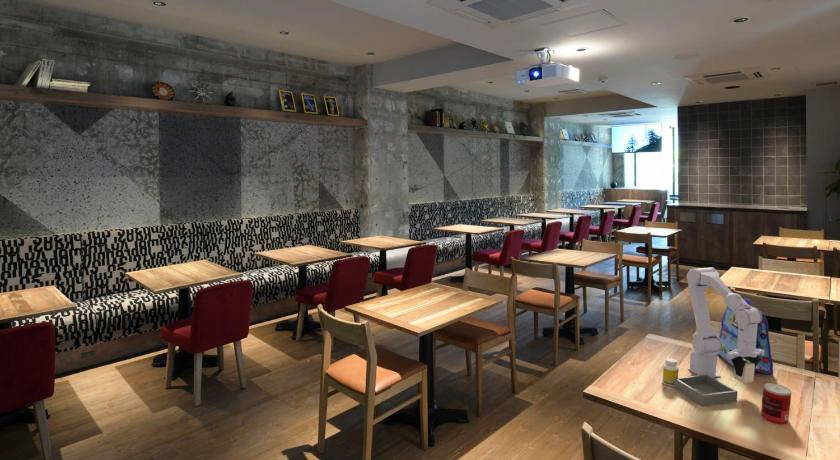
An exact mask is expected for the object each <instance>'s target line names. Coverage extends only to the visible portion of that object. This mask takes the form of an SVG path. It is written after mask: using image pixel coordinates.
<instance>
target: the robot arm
mask: <svg viewBox="0 0 840 460" xmlns="http://www.w3.org/2000/svg"><path fill="white" fill-rule="evenodd" d="M686 280H687V285H688V290H689V295H690V296H689V297H690V301H691V304H692V312H693V313H694V314H693V315H694V320H695V325H696V331H695V332H694V333H693V334H692V349H693V350H692V351H691V353H690V355H689V356H690V359H689V367H688V368H687V370H688V371H691V372H692V373H694V374H696V376H697V375H705V374H707V375H709V376H711V377H712V378H714V379H715V378H720V377H722V375H721V374H719V373H717V361H718V355H719V352H720V351H721V350H722V348H723V344H722V341H721V339H720V338H719V337H720V333H718V332H717V331H716V330H714V329H713V326H712V322H711V317H710V311H709V306H708V302H707V298H706V293H705V291H706V289H707V288H708V287H711V288H712V289H713V290H714V291H716V292H717V293H718V294H719V295H720V296H721V297H722V298H724V300H723V301H724V304H725V305H726V307H727V306H728V307H729V308H730V309H731V310H732V311H733V312H734V313H735V314H736V315H735V317H736V320H737V326H738V341H737V349H736V350H733V351H731V352H727V357H728V358H730V359H731V360H732V362H733V365H734V367H733V369H734V370H735V373H736V375H738V376H740V377H741V376H742V374H743V368H744V365H745V363H746V362H747V361H745V360H749V361H750V362H752V363H754V364H755V367H756V366H757V364H758V363H759V362H760V361H761V358H760V357H758V355H761V356H763V355H764V350H762V349H755V348H756V337H757V326H758V324H757V323H760V322H761V321H762V314H761V312H762V311H761V310H759V308H757V307H753V306H752V305H751V304H750V305H751V306H750V305H749V304H747V303H746V302H745V301H744V300H743V299H744V298H742V296H741V294H739V293H735V292H732V291H731V288H729V287H728V286H727V285H726V283H725V282H724V281H723V280H722V279H721V278H720V273H719V272H718V271H717V269H715V267H711V266H709V267H703V268H701V267H699V268H690V269H689V270H688V272H687V273H686ZM742 357H745V360H743V358H742ZM754 369H755V368H754Z"/></svg>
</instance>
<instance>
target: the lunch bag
mask: <svg viewBox="0 0 840 460" xmlns="http://www.w3.org/2000/svg"><path fill="white" fill-rule="evenodd" d="M742 299H743V300H744V301H745V302H746V303H747V304H749V305H750V306H752V305H751V299H748V298H742ZM760 312H761V314H762V321H761V322H760V323H757V324H758V326H757V337H756V348H755V349H762V350H764V355H763V356H761V355H758V357H760V358H761V361H760V362H759V363H758V364H757V366H756V367H755V369H754V373H755V372H759V373H762V374H766V375H770V376H772V375H774V369H773V368H774V363H773V362H774V361H773V357H772V352H771V342H770V337H769V323H768V320H767V318H766V316H765V315H766V314H764V313H763V312H762V311H760ZM735 315H736V314H735V313H734V312H733V311H732V310H731V309H730V308H729V307H728V306H727V305H726V308H725V310H724V314H723V316H722V319H721V325H720V326H721V328H720V333H719V338H720V339H721V341H722V344H723V348H722V350H721V351H720V352H719V354H718V355H719V356H720V357H722V359H724V360H725V361H726V362H727V363H729V364H730V366H732V367H733V368H734V365H733V362H732V360H731V359H730V358H728V357H727V352H731V351H733V350H736V349H737V341H738V326H737V320H736V317H735ZM742 358H743V359H745V357H742Z"/></svg>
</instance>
